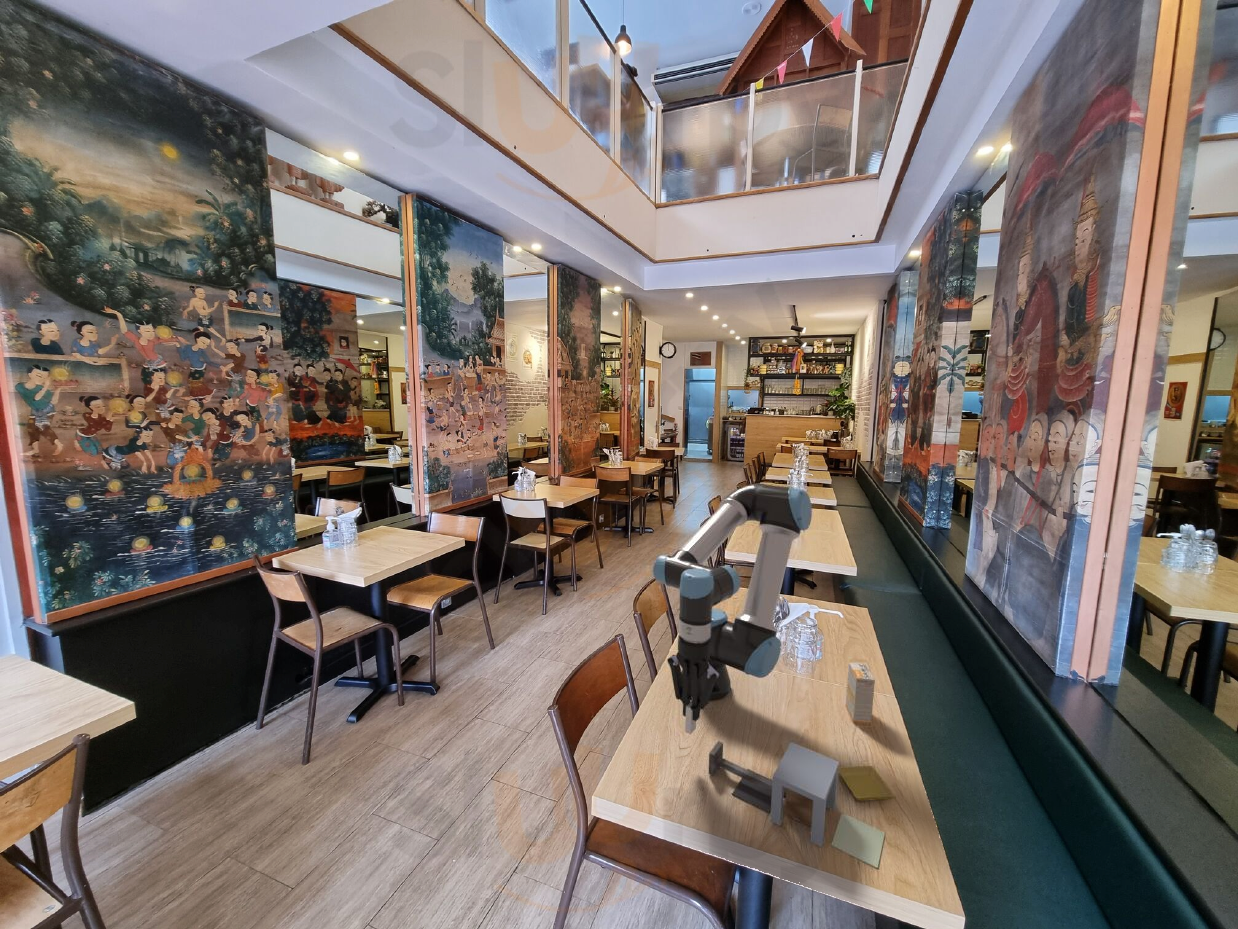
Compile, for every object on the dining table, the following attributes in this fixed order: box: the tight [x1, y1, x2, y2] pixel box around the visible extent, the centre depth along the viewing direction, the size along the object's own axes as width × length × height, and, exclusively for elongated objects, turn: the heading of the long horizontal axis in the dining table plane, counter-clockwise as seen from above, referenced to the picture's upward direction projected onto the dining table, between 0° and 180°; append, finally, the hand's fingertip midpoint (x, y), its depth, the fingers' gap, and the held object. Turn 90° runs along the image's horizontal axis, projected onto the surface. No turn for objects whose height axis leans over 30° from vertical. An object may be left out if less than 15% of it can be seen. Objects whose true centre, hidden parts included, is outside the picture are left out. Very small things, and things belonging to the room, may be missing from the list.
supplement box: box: [845, 662, 876, 726], centre depth 133 cm, size 8×5×13 cm, turn 168°
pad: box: [831, 812, 886, 869], centre depth 96 cm, size 8×9×1 cm
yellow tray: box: [838, 765, 895, 802], centre depth 109 cm, size 9×9×2 cm
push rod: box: [708, 740, 813, 828], centre depth 107 cm, size 24×6×6 cm, turn 54°
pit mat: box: [731, 768, 773, 814], centre depth 108 cm, size 8×9×1 cm
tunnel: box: [769, 741, 840, 848], centre depth 101 cm, size 10×12×10 cm
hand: (690, 730), depth 116 cm, fingers closed
